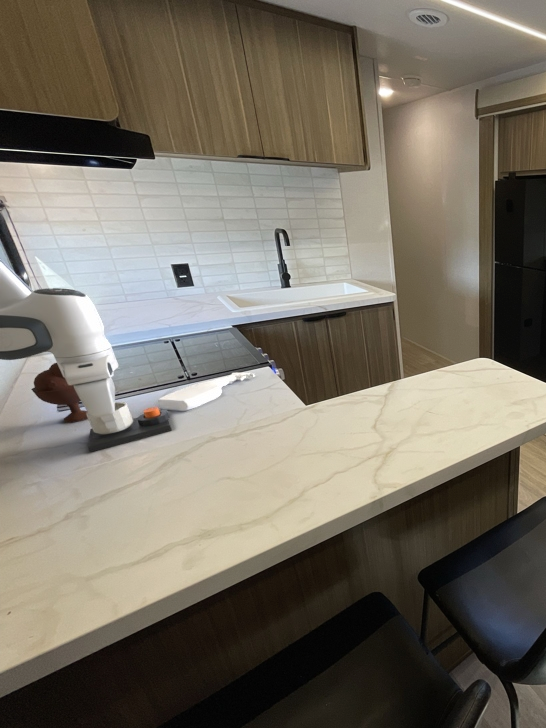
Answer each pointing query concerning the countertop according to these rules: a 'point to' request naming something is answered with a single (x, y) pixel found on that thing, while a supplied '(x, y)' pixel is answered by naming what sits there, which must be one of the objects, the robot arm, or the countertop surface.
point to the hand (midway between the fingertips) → (112, 421)
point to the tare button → (151, 412)
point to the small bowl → (120, 415)
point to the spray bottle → (198, 393)
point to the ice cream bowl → (58, 392)
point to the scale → (131, 431)
